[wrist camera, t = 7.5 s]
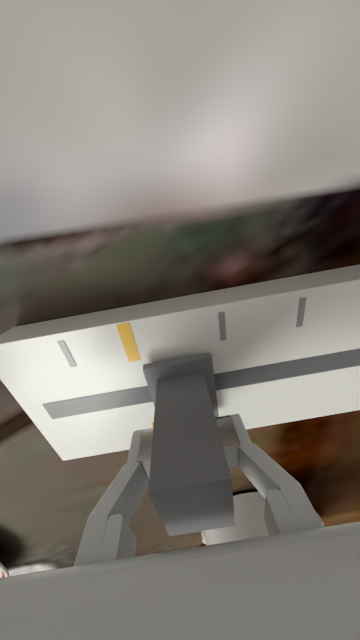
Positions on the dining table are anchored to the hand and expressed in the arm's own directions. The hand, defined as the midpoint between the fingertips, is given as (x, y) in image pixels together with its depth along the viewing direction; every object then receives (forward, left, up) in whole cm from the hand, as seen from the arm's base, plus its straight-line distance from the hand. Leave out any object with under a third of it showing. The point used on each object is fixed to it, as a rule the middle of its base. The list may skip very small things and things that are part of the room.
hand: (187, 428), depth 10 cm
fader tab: (0, 0, -3) cm, 3 cm away
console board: (-2, -3, -6) cm, 7 cm away
